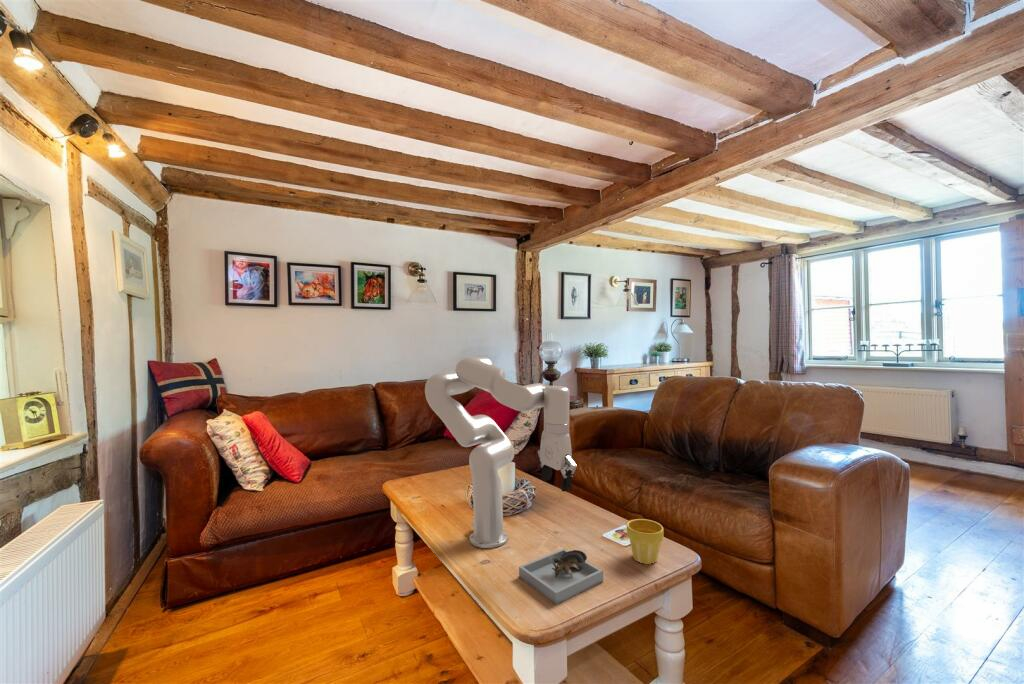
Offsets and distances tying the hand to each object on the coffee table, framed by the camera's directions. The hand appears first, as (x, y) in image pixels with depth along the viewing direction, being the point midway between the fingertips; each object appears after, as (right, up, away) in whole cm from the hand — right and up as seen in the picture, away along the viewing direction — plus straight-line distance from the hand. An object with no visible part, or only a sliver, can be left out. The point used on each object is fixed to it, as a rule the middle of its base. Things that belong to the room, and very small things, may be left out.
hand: (556, 485), depth 129 cm
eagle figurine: (+2, -22, -9) cm, 24 cm away
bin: (0, -22, -11) cm, 25 cm away
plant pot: (+26, -22, -1) cm, 34 cm away
